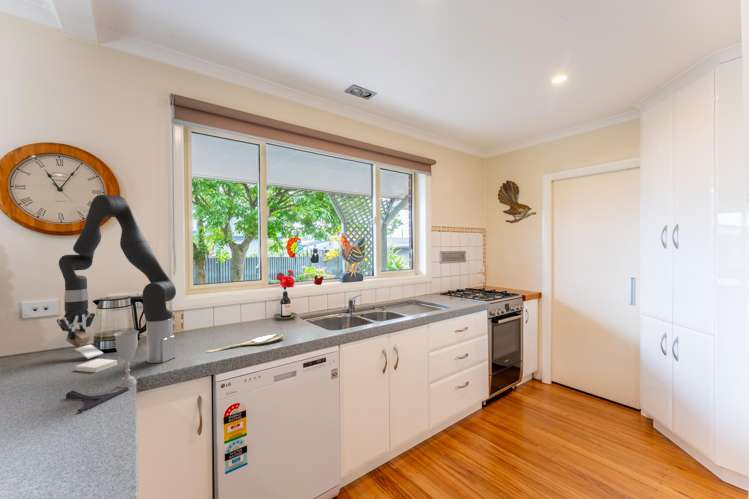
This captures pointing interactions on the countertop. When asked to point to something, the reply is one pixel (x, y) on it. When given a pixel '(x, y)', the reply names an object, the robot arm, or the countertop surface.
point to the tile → (96, 365)
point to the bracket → (93, 398)
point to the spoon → (253, 342)
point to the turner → (83, 345)
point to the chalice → (127, 352)
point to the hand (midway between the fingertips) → (77, 338)
